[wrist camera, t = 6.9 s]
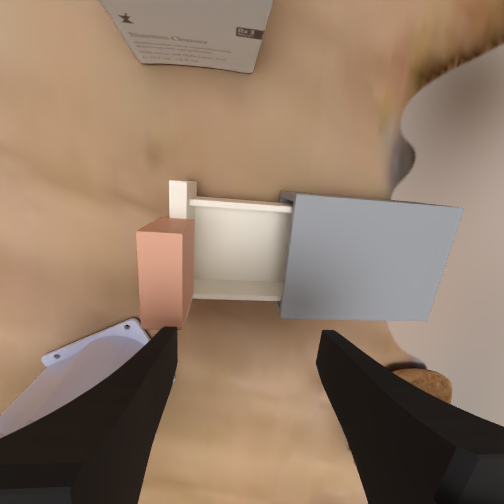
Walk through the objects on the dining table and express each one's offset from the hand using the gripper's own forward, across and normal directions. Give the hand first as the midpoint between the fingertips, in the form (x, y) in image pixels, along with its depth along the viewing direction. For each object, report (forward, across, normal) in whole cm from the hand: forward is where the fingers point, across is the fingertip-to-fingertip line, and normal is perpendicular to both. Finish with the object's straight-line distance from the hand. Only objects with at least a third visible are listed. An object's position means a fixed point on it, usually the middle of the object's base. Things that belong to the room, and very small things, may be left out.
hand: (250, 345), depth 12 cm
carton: (+10, -9, -3) cm, 14 cm away
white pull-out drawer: (+10, -1, -3) cm, 11 cm away
